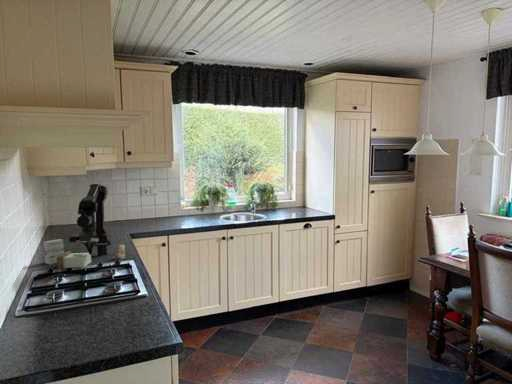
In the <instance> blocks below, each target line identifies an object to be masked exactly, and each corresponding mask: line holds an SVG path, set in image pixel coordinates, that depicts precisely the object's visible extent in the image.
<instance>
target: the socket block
mask: <svg viewBox="0 0 512 384" xmlns="http://www.w3.org/2000/svg"><path fill="white" fill-rule="evenodd" d="M91 263H92V255H90V254H89V252H78V253H77V252H76V253H75V252H74V253H73V252H72V253H71V254H69V255H67V256H65V257H64V258H63V268H62V269H69V268H70V269H73V268H85V267H87V266H88V265H90V264H91Z"/></svg>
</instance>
